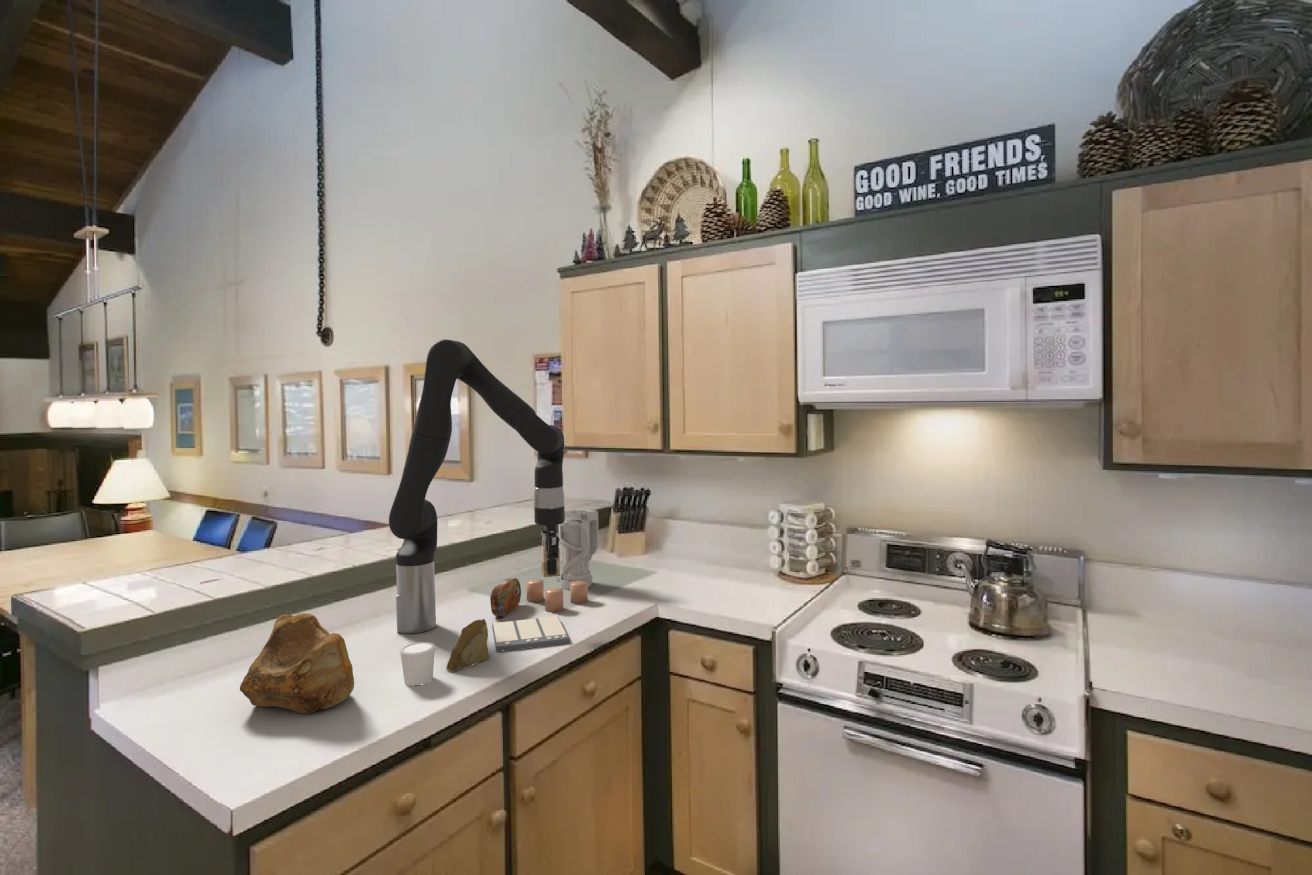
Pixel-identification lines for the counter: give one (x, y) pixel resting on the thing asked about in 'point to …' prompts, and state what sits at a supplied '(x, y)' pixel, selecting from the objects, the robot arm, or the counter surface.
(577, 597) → the cylinder
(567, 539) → the lantern
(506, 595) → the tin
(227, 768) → the counter surface
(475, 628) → the rock
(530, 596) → the peach rounded cylinder
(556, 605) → the peach dome knob
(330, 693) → the brown rough lump
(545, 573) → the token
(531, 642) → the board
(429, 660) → the white cup
